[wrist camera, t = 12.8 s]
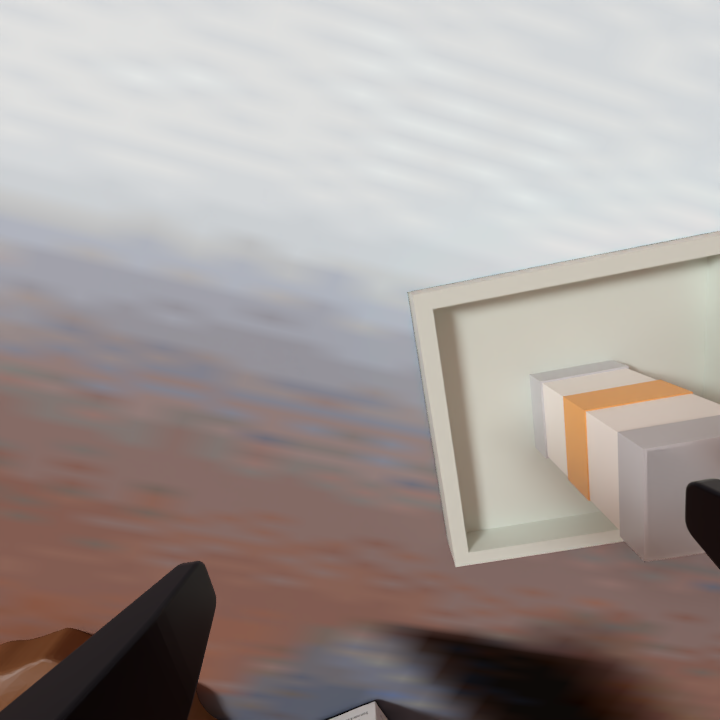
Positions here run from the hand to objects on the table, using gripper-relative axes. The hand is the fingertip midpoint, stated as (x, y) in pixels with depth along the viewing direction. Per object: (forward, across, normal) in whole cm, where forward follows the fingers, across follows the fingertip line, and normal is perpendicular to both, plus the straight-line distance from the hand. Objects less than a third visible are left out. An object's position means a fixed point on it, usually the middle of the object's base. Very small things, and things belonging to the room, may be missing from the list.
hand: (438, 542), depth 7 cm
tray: (+13, -9, +4) cm, 16 cm away
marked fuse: (+12, -9, +4) cm, 16 cm away
